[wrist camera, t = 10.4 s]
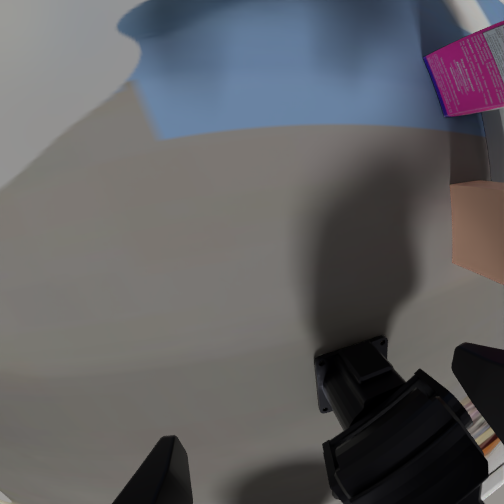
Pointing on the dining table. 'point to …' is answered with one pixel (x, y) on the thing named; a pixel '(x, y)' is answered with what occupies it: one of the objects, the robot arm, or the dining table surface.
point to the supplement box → (470, 72)
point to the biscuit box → (479, 227)
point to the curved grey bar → (495, 142)
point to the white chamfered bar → (492, 482)
